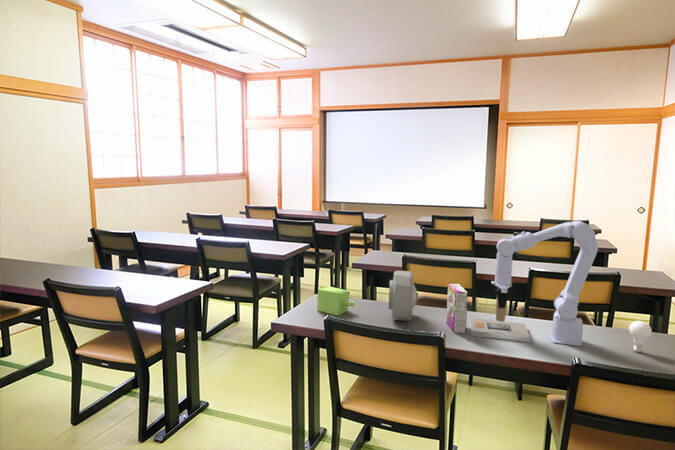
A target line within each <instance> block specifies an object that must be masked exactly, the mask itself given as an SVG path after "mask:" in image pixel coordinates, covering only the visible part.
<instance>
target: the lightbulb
mask: <svg viewBox="0 0 675 450" xmlns="http://www.w3.org/2000/svg"><path fill="white" fill-rule="evenodd" d="M628 331H629V335H630V336H631V338H632V342H633V351H634V352H636V353H642V352H643V350H644V344H645V343H646V341H647V340H648V339H649V338H650V337H651V335H652V333H653V332H652V331H653V330H652V328H651V326H650V325H649V324H648V322H645V321H642V320H635V321H633V322H631V324H629V327H628Z"/></svg>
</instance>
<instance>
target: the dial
mask: <svg viewBox="0 0 675 450" xmlns="http://www.w3.org/2000/svg"><path fill="white" fill-rule="evenodd" d="M418 300H419V292H417V288H416V286H415V284H414V273H413V272H412V271H410V270H409V271H408V270H407V271H406V270H395V271H394V272H393V279H389V288H388V310H391V318H392V320H395V321H404V322H410V321H411V320H412V319H413V318H412V317H413V316H412V315H413V309H414V307H415V305H416V303H417V301H418Z"/></svg>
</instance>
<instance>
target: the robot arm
mask: <svg viewBox="0 0 675 450" xmlns="http://www.w3.org/2000/svg"><path fill="white" fill-rule="evenodd" d="M556 237H562V238H563V237H564V238H569V239H571V238H572V239H574V240H575V241H576V244H577V245H578V247H579V248H580V250H579V252H578V255H577V257H576V259H575V262H574V265H573V267H572V269H571V272H570V274H569V277H568V278H567V279H568V280H567V282H566V285H565V287H564V288H563V290H561V292H560V294H559V296H557V297H556V298H555V299H554V301H553V306H554V308H555V312H554V313H553V319H552V330H551V333H548V336H549V338H550V340H551V342H552V343H554V344H563V345H570V346H572V345H573V346H579V347H581V346H582V345H583V344H582V340H583V330H584V323H583V320H582V318H579V317H577V316H578V312H579V311H578V310H579V309H578V306H579V302H580V294H581V292H582V290H583V287H584V284H585V282H586V279H587V278H588V275H589V272H590V271H591V268H592V266H593V263H594V261H595V258H596V257H597V253H598V250H599V247H598V246H599V245H598V242H597V239H596V232H595V231H594V230H593V228H592V226H590V225H589V224H588V223H585V222H583V220H579V219H574V220H572V221H567V222H563V223H560V224H557V225H556V224H555V226H554V225H553V226H552V227H548V228H546V229H542V230H541V231H540V230H539V231H537V232H534V233H532V232H529V231H526V232H525V230H524V231H521V232H520V233H519V234H516V235H514V236H510V235H509V236H508V237H507V238H501V239H500V240H498V242H497V244H496V246H495V248H496V250H497V253H496V259H495V272H494V281H495V282H496V283H494V281H493V280H492V281H490V282H491V285H493V288H494V291H495V295H496V299H497V298H498V307H499V308H503V309H505V306H506V303H507V304H508V300H509V297H510V295H511V294H512V290H510V288H511V287H510V285H508V284H511V282H512V273H513V271H512V270H513V255H514V253H518V252H520V251H524V250H528V249H531V248H534V247H535V246H536V244H537V243H538V242H541V241H546V240H550V239H552V238H553V239H554V238H556ZM494 284H495V285H496V286H498V287H499V288H501V290H500V289H498V288H497V287H496V286H495V285H494ZM509 287H510V288H509Z"/></svg>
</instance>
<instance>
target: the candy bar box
mask: <svg viewBox="0 0 675 450" xmlns="http://www.w3.org/2000/svg"><path fill="white" fill-rule="evenodd" d="M446 299H447V303H446V322H445V323H446V324H447V326H448V327H449V329H450V330H451V332H453V334H466V330H467V316H468V315H467V313H468V312H467V311H468V291H467V290H466V289H465V288H464V287H463V286H462V285H461V284H460V283H447V298H446Z"/></svg>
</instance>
